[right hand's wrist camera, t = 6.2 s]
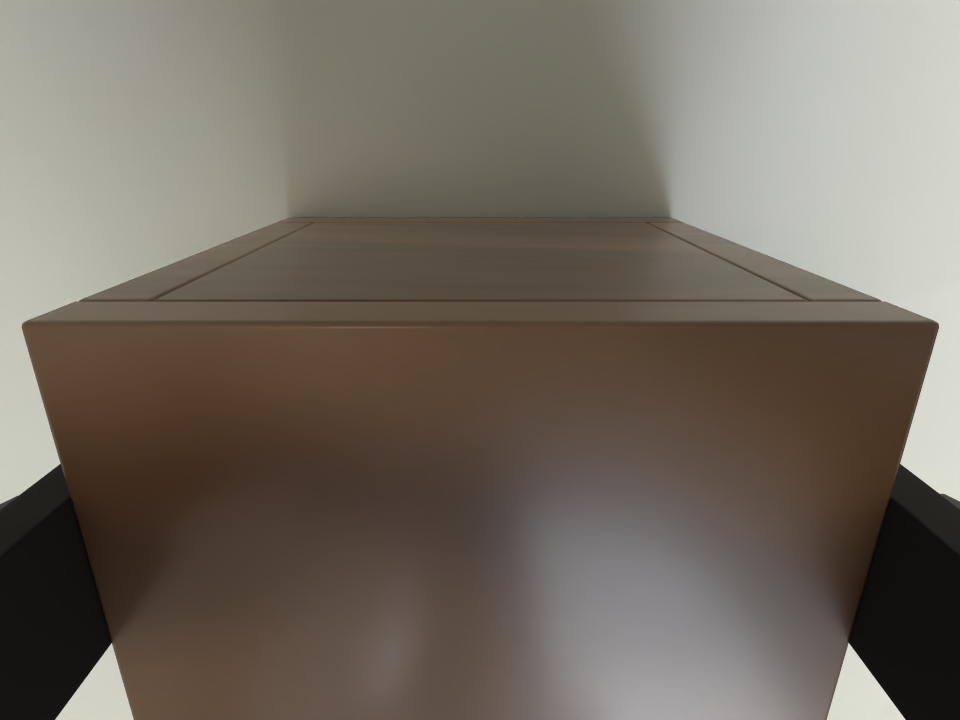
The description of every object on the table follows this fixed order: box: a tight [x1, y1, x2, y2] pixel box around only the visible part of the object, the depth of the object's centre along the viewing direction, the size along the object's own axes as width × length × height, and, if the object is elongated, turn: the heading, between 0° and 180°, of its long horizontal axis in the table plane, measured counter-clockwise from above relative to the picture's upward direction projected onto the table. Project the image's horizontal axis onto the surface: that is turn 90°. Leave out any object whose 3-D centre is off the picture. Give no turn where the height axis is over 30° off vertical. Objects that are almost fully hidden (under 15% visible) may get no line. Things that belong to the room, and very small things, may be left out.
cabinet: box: [22, 218, 939, 720], centre depth 16 cm, size 19×12×11 cm, turn 0°
